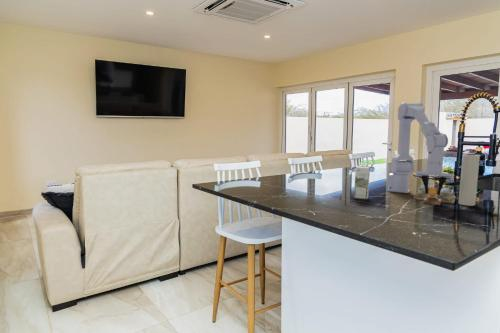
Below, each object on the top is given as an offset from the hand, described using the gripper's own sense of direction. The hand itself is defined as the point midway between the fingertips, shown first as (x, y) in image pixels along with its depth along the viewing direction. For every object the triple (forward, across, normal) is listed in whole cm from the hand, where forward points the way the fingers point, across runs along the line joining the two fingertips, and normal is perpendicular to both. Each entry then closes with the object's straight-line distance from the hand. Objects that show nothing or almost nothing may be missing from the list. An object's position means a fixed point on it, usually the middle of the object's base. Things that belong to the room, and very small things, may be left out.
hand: (432, 194), depth 148 cm
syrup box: (+4, -28, -8) cm, 29 cm away
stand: (+4, 0, 0) cm, 4 cm away
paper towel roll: (+4, +13, +5) cm, 15 cm away
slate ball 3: (+1, +4, +13) cm, 14 cm away
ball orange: (-1, 0, 0) cm, 1 cm away
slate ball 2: (+1, +4, +8) cm, 9 cm away
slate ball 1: (+1, -4, +13) cm, 14 cm away
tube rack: (+4, 0, +11) cm, 12 cm away
